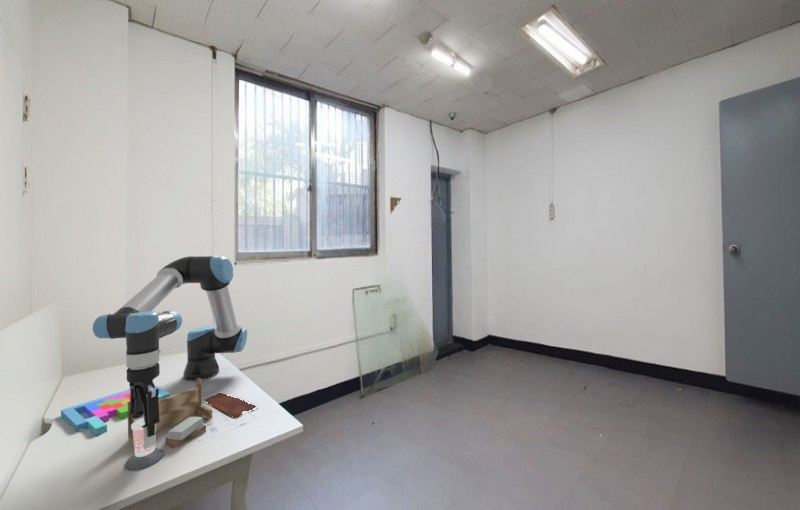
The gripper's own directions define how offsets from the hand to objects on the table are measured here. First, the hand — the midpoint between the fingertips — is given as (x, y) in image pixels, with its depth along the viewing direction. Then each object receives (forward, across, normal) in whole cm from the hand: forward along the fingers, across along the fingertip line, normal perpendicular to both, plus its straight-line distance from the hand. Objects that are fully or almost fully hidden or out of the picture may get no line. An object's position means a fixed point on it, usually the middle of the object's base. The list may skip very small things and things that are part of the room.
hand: (144, 442), depth 93 cm
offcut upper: (+3, +2, -12) cm, 12 cm away
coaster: (+5, 0, 0) cm, 5 cm away
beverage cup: (+3, 0, 0) cm, 3 cm away
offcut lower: (+6, +2, -12) cm, 13 cm away
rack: (+5, +11, -12) cm, 17 cm away
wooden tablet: (+6, +12, -32) cm, 35 cm away
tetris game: (+6, +43, -8) cm, 44 cm away
